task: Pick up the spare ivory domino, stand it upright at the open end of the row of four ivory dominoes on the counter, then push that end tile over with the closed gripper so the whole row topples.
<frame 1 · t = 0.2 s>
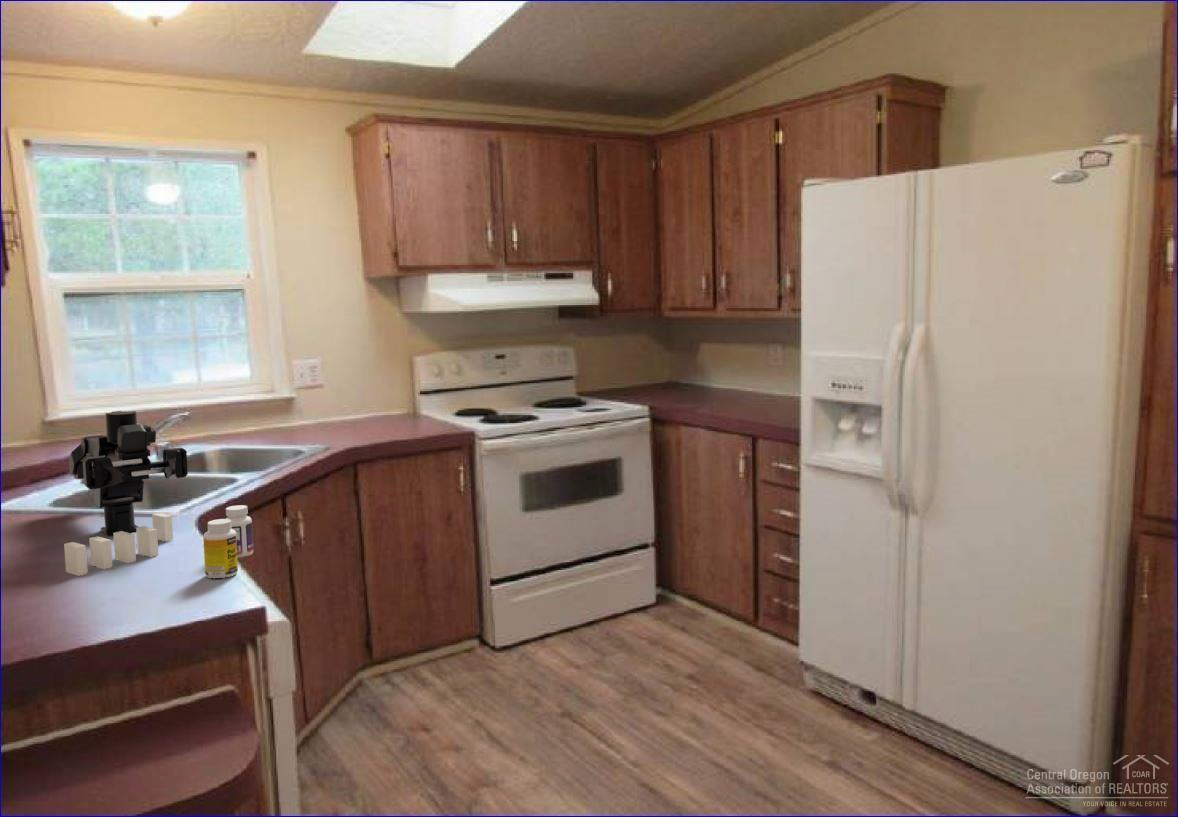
hand: (149, 475, 160), 16 cm above the countertop, tool horizontal, fingers open, 9 cm apart
domino 2: (101, 566, 155), on the countertop
domino 4: (148, 554, 163), on the countertop
pill bottle: (239, 555, 163), on the countertop
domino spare: (163, 539, 173), on the countertop
domino 3: (125, 560, 159), on the countertop
supplement bottle: (222, 576, 150), on the countertop
domino 1: (76, 572, 151), on the countertop
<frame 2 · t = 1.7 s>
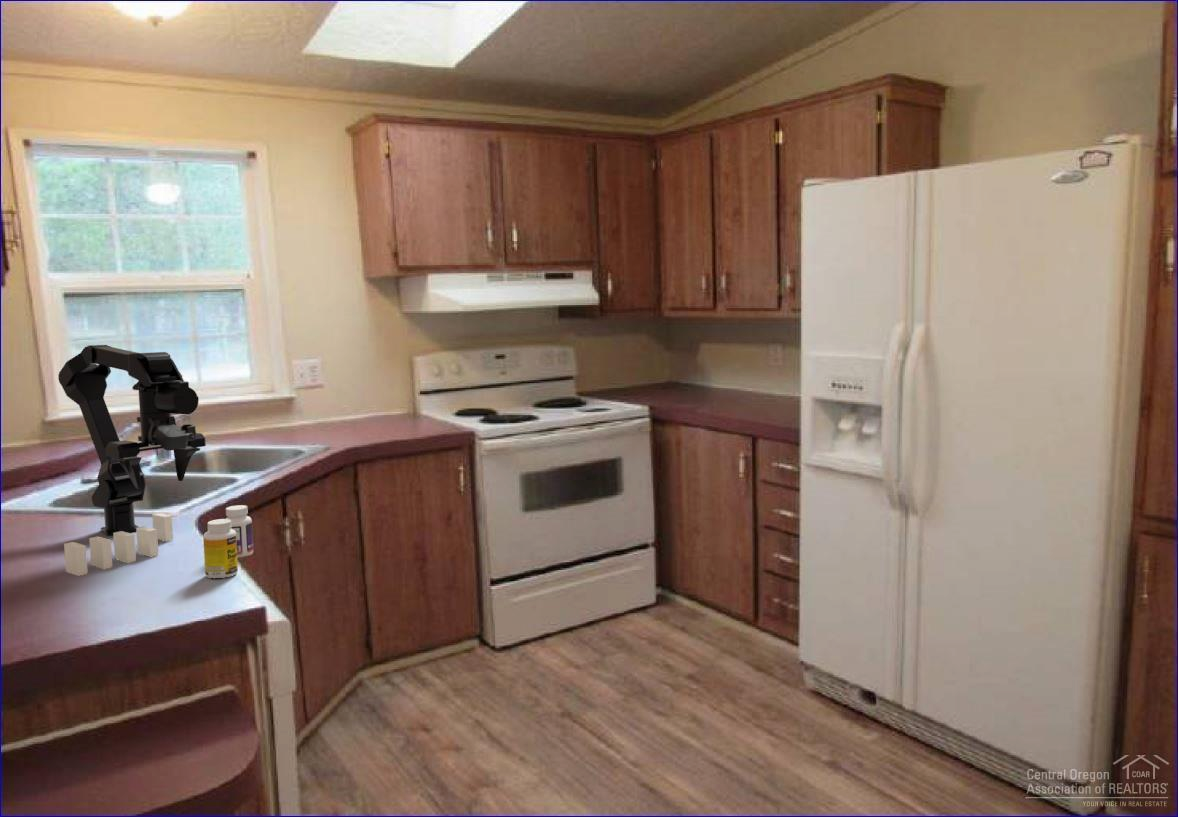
hand: (159, 484, 172), 12 cm above the countertop, tool pointing down, fingers open, 9 cm apart
nothing on the countertop moved.
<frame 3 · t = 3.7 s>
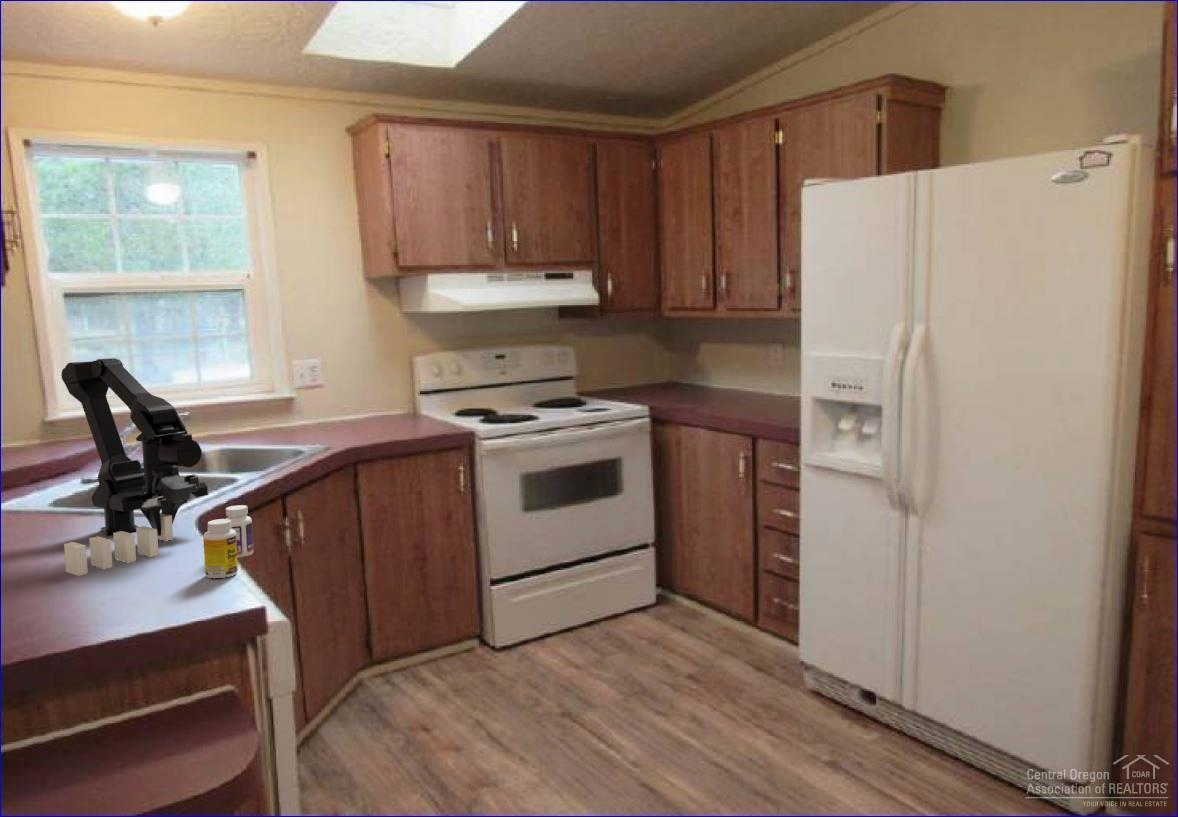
hand: (163, 534, 173), 1 cm above the countertop, tool pointing down, fingers closed on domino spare, 2 cm apart
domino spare: (163, 539, 173), on the countertop, touching gripper
everything else where it was.
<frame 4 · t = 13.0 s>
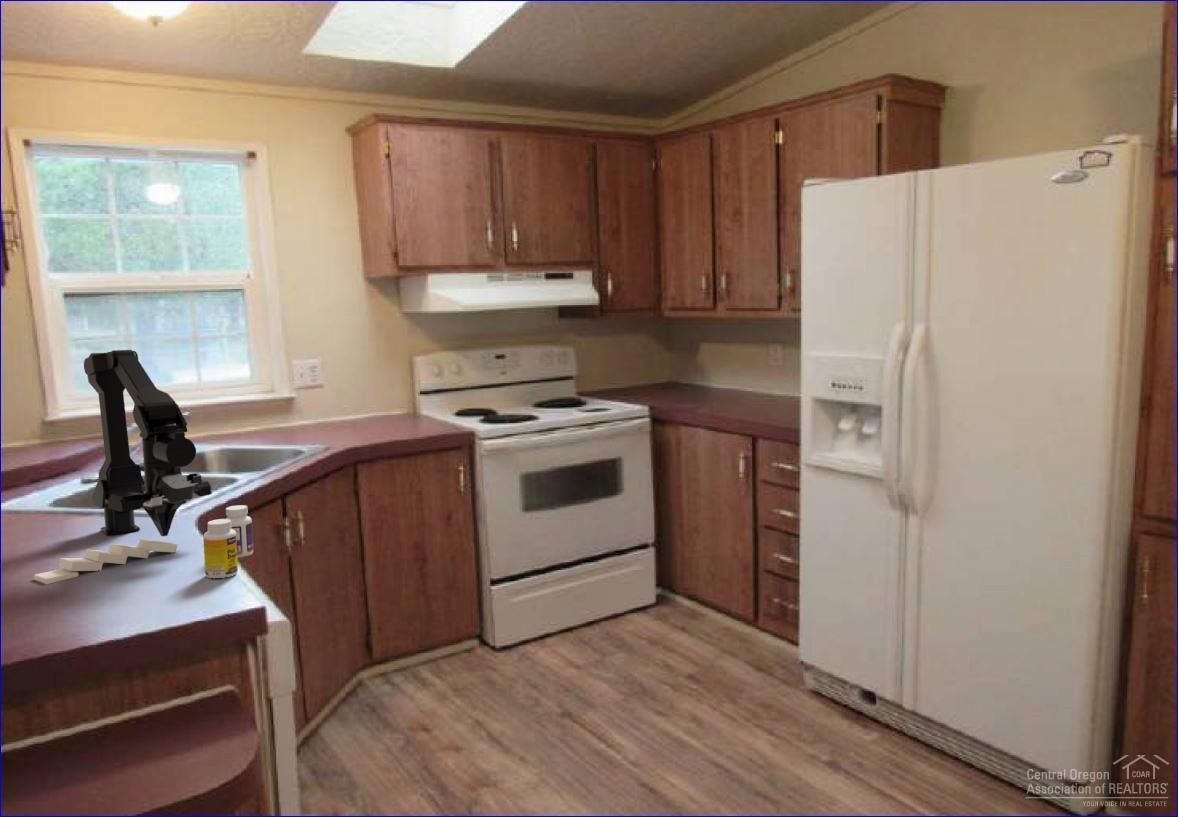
hand: (164, 535, 165), 3 cm above the countertop, tool pointing down, fingers closed
domino 2: (95, 564, 154), point 1 cm above the countertop, tilted 75°
domino 4: (142, 552, 162), point 1 cm above the countertop, tilted 69°, touching domino 3, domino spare
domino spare: (170, 546, 165), point 1 cm above the countertop, tilted 72°, touching domino 4
domino 3: (120, 558, 158), point 1 cm above the countertop, tilted 70°, touching domino 4
domino 1: (72, 574, 151), on the countertop, tilted 87°
everything else where it was.
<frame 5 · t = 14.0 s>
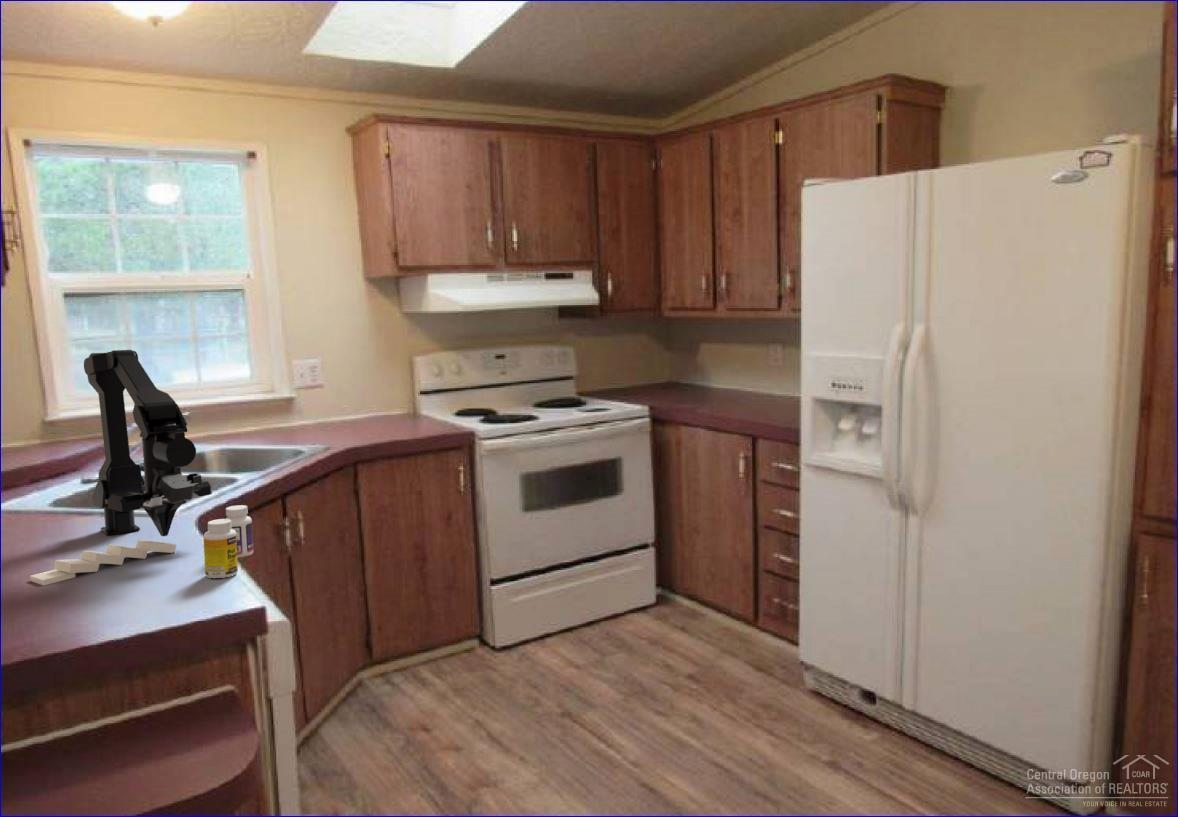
hand: (164, 535, 165), 3 cm above the countertop, tool pointing down, fingers closed
domino 2: (90, 565, 153), point 1 cm above the countertop, tilted 76°, touching domino 3
domino 3: (116, 559, 157), point 1 cm above the countertop, tilted 70°, touching domino 2, domino 4
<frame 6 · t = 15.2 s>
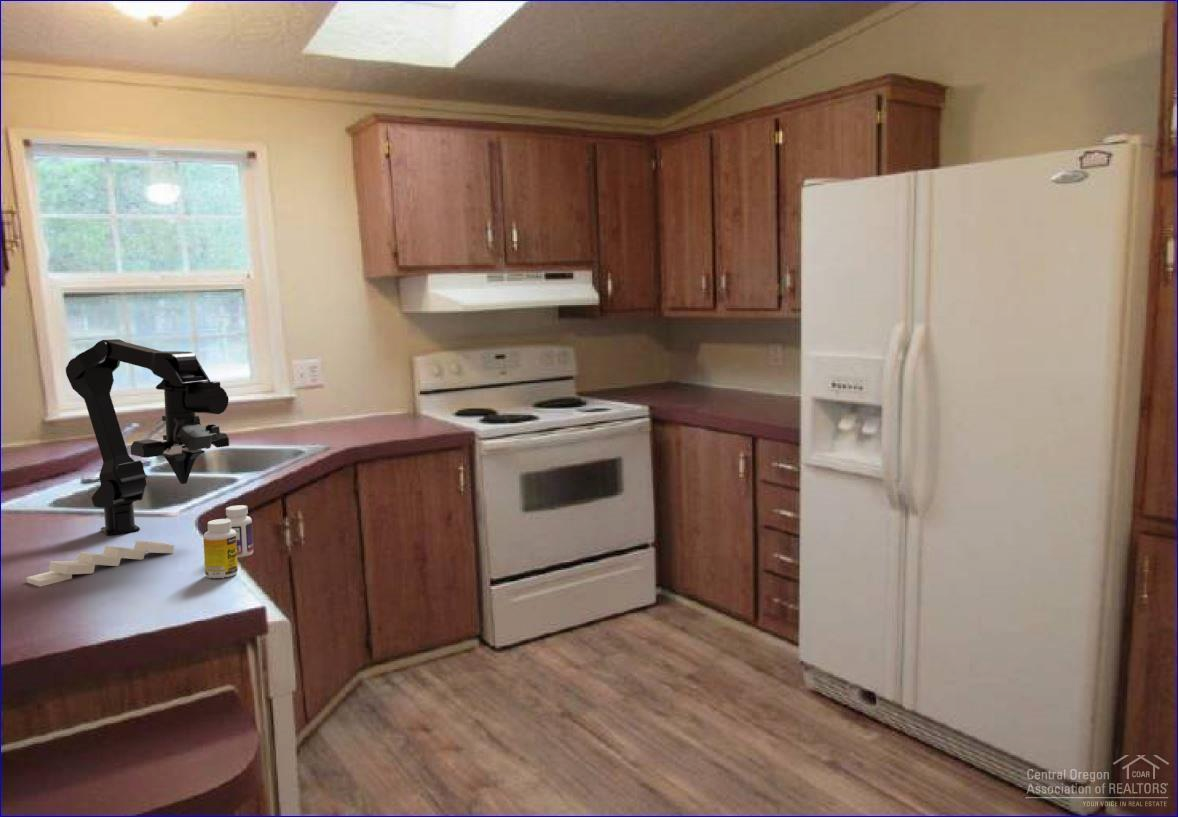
hand: (183, 483, 173), 12 cm above the countertop, tool pointing down, fingers closed
domino 2: (85, 567, 152), point 1 cm above the countertop, tilted 75°, touching domino 1
domino 3: (112, 560, 157), point 1 cm above the countertop, tilted 71°, touching domino 4
domino 1: (65, 575, 149), on the countertop, tilted 90°, touching domino 2
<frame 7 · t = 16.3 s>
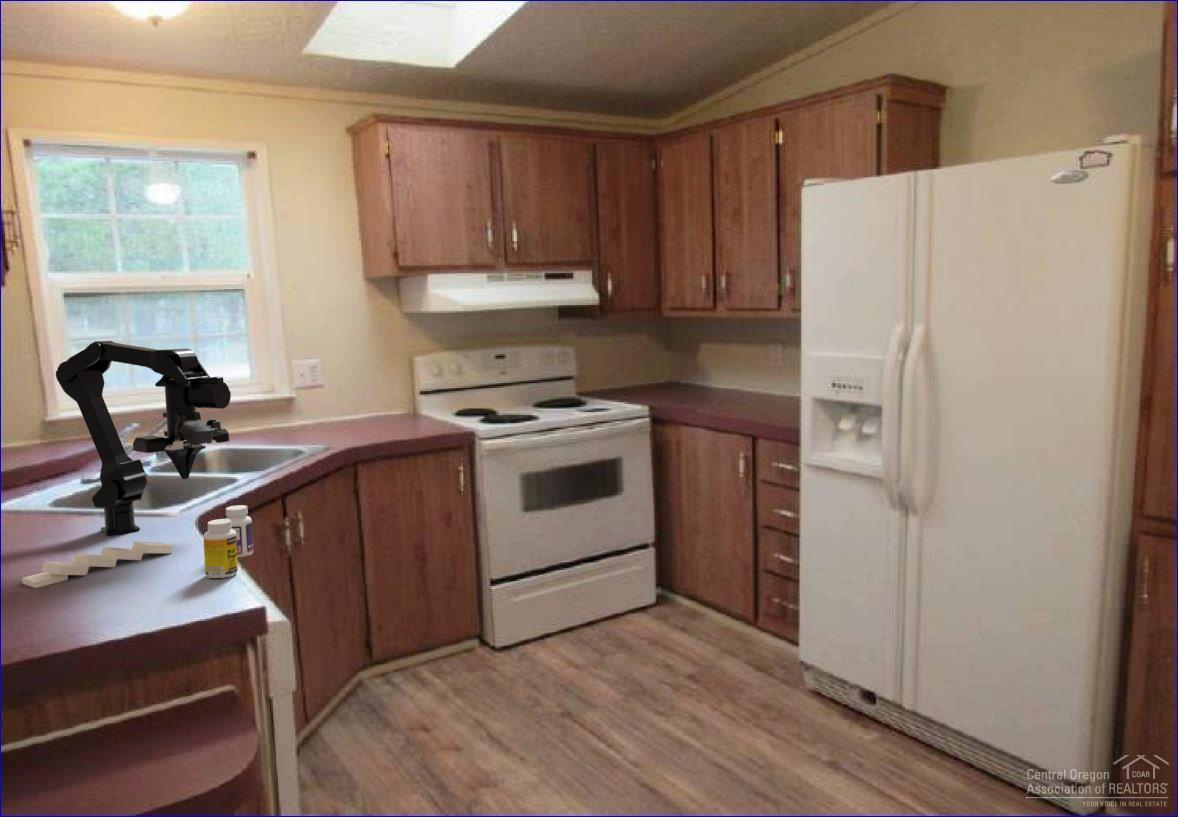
hand: (185, 478, 175), 13 cm above the countertop, tool pointing down, fingers closed
domino 2: (79, 568, 151), point 1 cm above the countertop, tilted 72°, touching domino 1
domino 4: (135, 554, 160), point 1 cm above the countertop, tilted 71°, touching domino 3
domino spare: (165, 547, 165), point 1 cm above the countertop, tilted 74°
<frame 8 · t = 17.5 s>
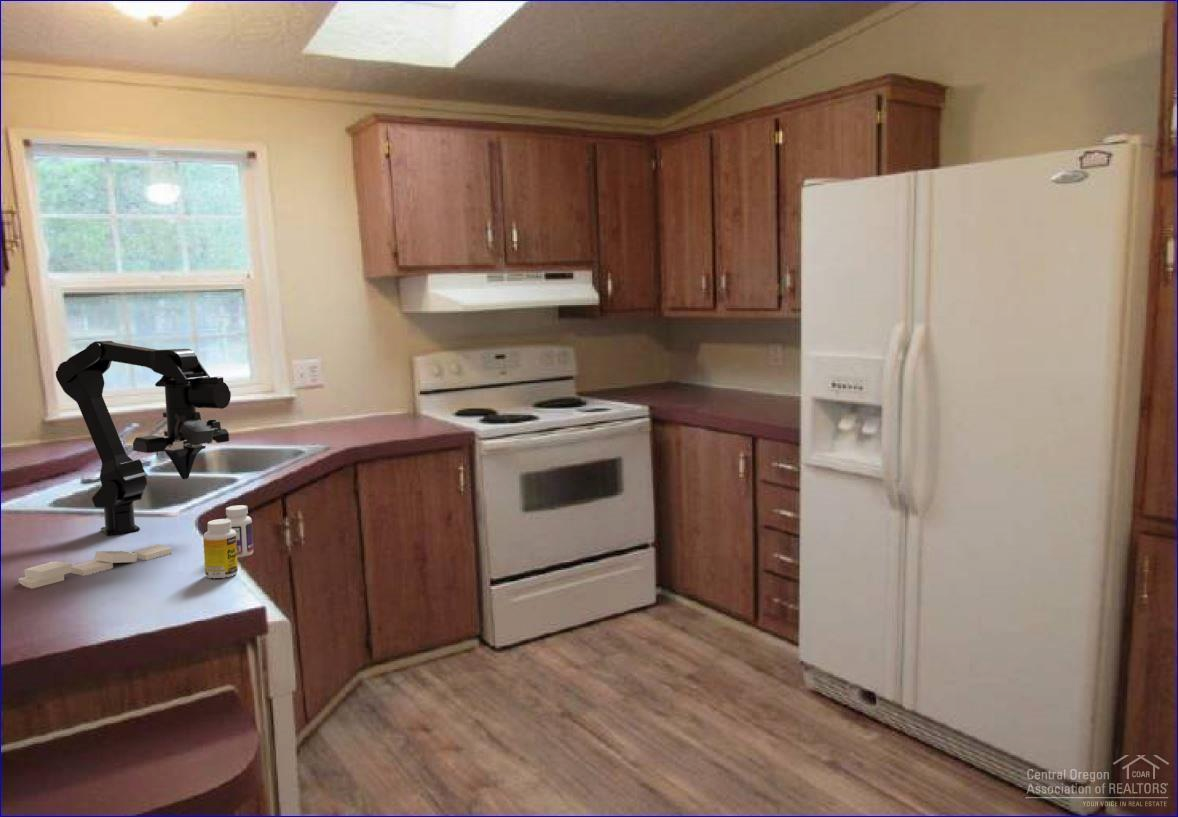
hand: (185, 478, 175), 13 cm above the countertop, tool pointing down, fingers closed
domino 2: (63, 566, 149), point 2 cm above the countertop, tilted 90°, touching domino 1
domino 4: (128, 556, 159), point 1 cm above the countertop, tilted 75°
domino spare: (164, 550, 164), on the countertop, tilted 91°
domino 3: (105, 564, 155), on the countertop, tilted 90°
at the end: domino 1 tilted 90°; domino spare tilted 91°; the gripper is holding nothing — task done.
